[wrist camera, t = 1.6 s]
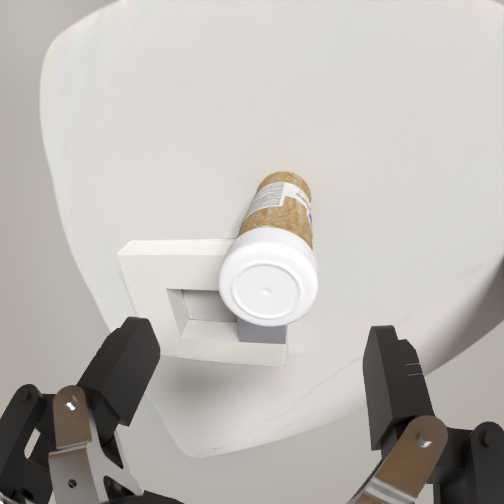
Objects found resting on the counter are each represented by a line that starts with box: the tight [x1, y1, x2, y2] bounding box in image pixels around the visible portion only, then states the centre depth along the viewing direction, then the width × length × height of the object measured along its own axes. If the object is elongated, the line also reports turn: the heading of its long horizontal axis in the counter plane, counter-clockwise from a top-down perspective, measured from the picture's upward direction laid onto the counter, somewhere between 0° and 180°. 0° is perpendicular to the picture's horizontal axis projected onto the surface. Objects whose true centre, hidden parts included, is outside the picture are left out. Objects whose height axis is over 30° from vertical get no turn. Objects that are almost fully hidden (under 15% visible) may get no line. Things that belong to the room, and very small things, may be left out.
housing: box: [116, 239, 288, 366], centre depth 29 cm, size 16×14×3 cm
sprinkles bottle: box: [217, 172, 318, 327], centre depth 18 cm, size 5×5×13 cm
